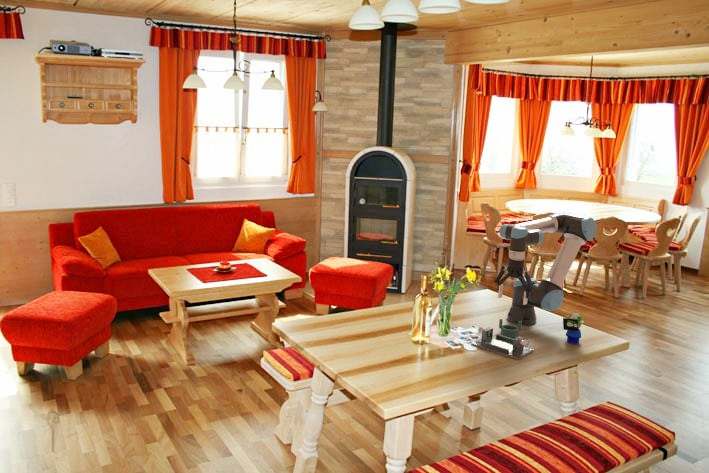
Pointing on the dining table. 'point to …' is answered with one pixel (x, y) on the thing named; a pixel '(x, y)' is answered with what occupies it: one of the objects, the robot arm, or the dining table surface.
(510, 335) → the bracket
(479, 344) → the shaft bench
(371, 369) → the dining table surface
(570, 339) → the toy
